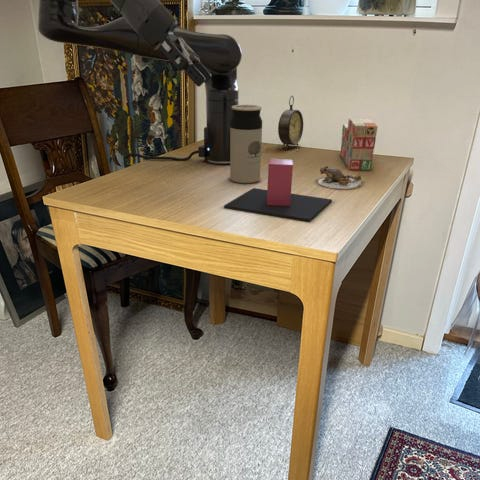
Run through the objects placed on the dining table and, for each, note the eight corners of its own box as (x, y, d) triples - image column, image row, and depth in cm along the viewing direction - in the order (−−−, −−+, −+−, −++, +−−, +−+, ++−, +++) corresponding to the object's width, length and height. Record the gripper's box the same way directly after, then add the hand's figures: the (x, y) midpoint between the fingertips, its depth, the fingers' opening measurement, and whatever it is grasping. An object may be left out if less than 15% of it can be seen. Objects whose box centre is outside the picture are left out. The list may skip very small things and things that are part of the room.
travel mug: (225, 177, 133) (225, 105, 124) (252, 175, 136) (254, 104, 127) (237, 185, 127) (238, 109, 118) (265, 182, 130) (268, 108, 121)
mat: (224, 207, 110) (224, 205, 110) (253, 190, 123) (253, 187, 123) (309, 222, 103) (309, 219, 103) (331, 201, 116) (331, 199, 115)
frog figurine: (312, 186, 127) (313, 171, 125) (322, 175, 137) (323, 161, 135) (357, 191, 124) (359, 176, 122) (364, 180, 133) (366, 165, 131)
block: (266, 205, 111) (268, 164, 106) (267, 198, 115) (269, 158, 111) (290, 206, 110) (292, 164, 106) (290, 199, 115) (293, 159, 110)
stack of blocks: (339, 154, 161) (344, 113, 155) (358, 154, 161) (364, 113, 155) (349, 170, 143) (355, 124, 137) (371, 170, 143) (378, 125, 136)
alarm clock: (288, 151, 164) (291, 97, 156) (274, 149, 166) (276, 96, 158) (302, 145, 172) (306, 94, 164) (289, 143, 175) (292, 93, 166)
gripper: (146, 32, 109) (199, 91, 114) (127, 32, 96) (187, 98, 101) (168, 4, 106) (222, 66, 111) (152, 0, 93) (213, 70, 98)
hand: (205, 81), depth 106 cm, fingers open, 8 cm apart
